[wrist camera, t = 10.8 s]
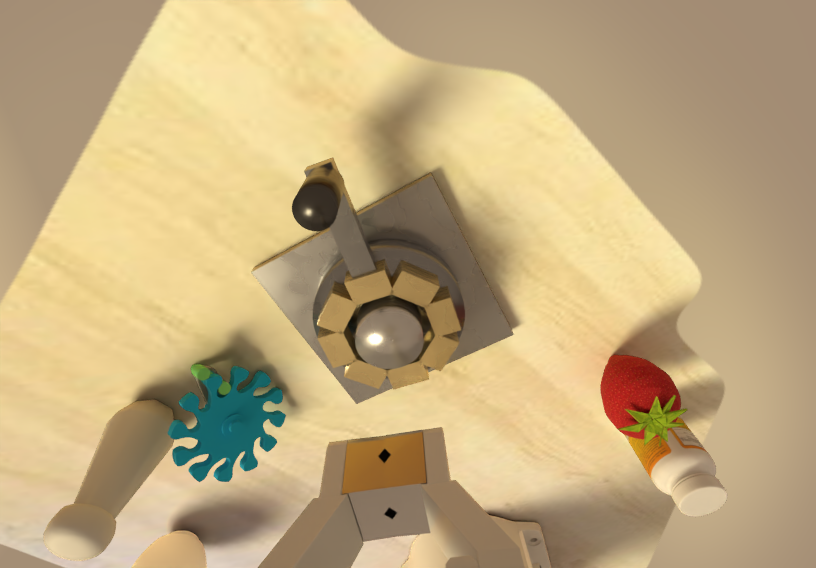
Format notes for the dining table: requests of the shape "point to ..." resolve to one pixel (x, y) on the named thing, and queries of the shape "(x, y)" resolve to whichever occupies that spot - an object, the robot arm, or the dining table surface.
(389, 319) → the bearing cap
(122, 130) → the dining table surface
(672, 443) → the supplement bottle
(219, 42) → the dining table surface
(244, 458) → the teal virus model
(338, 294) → the ring nut
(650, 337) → the dining table surface
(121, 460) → the salt shaker
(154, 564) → the white air blower bulb
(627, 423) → the strawberry
